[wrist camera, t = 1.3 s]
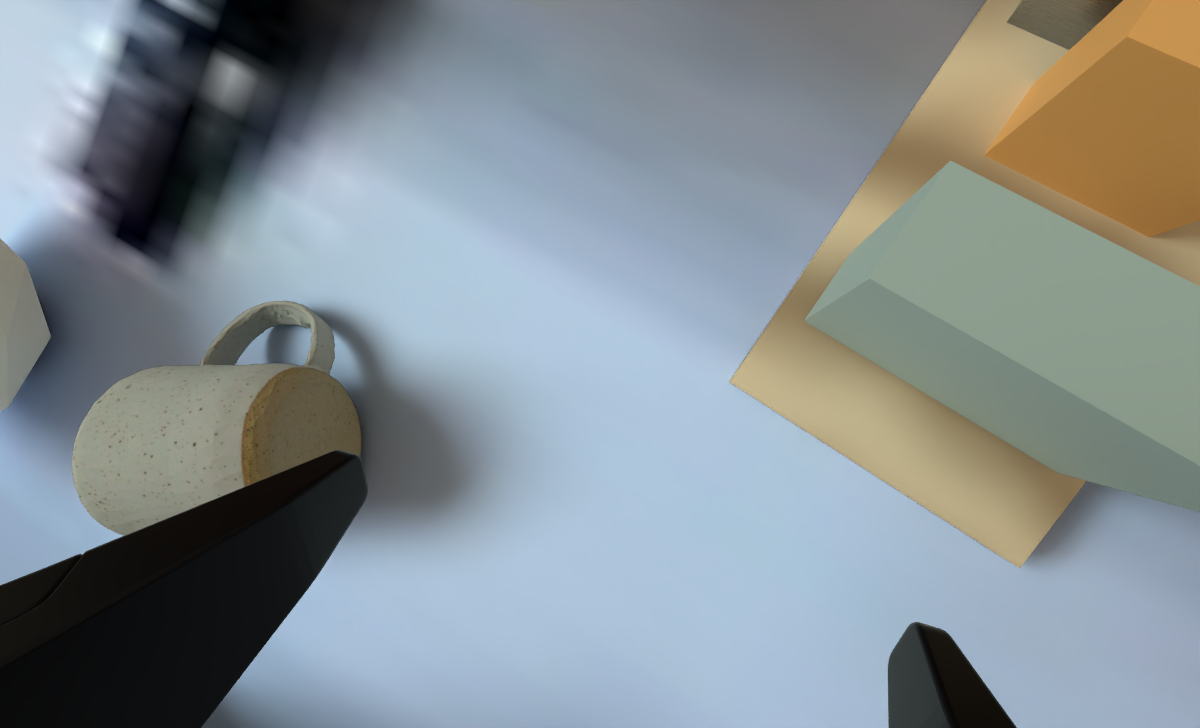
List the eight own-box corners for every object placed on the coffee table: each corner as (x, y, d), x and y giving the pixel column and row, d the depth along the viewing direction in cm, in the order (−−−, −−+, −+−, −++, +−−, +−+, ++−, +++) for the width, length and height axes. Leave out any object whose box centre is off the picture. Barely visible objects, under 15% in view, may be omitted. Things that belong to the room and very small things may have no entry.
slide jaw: (1057, 472, 19) (1358, 555, 10) (803, 320, 21) (869, 278, 12) (1110, 401, 19) (1468, 423, 10) (848, 254, 20) (950, 160, 12)
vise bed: (998, 554, 21) (1019, 568, 19) (729, 381, 23) (730, 382, 21) (1346, 94, 19) (1400, 70, 17) (1016, -45, 21) (1038, -76, 20)
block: (1148, 237, 19) (1401, 154, 12) (983, 155, 20) (1126, 37, 13) (1204, 161, 18) (1497, 31, 11) (1033, 83, 19) (1207, -78, 13)
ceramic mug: (378, 511, 26) (242, 560, 19) (238, 515, 28) (62, 562, 20) (368, 297, 27) (233, 262, 19) (232, 314, 29) (59, 287, 21)
